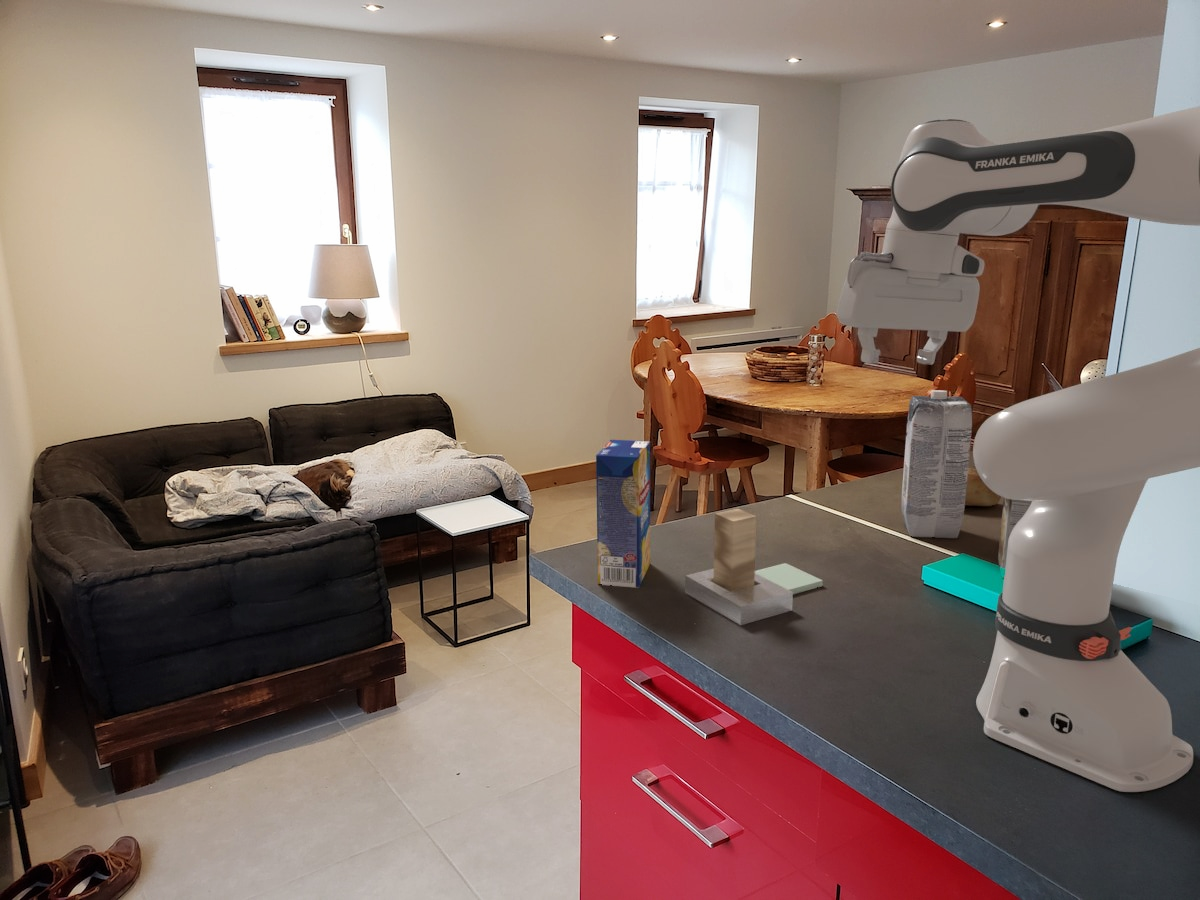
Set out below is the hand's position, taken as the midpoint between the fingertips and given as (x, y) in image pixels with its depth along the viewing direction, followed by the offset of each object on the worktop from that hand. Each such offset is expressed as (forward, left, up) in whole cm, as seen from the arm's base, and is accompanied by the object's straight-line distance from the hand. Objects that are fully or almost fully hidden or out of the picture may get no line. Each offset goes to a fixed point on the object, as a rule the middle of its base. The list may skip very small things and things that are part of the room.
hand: (897, 363), depth 117 cm
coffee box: (+5, -39, -40) cm, 56 cm away
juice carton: (+26, -42, -40) cm, 63 cm away
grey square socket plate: (+20, +9, -39) cm, 45 cm away
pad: (+22, -2, -39) cm, 45 cm away
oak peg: (+21, +9, -39) cm, 46 cm away
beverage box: (+39, +18, -40) cm, 59 cm away
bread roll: (+34, -61, -40) cm, 80 cm away
